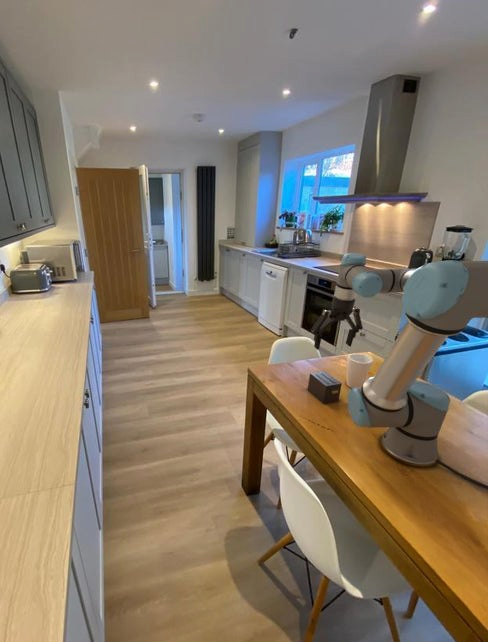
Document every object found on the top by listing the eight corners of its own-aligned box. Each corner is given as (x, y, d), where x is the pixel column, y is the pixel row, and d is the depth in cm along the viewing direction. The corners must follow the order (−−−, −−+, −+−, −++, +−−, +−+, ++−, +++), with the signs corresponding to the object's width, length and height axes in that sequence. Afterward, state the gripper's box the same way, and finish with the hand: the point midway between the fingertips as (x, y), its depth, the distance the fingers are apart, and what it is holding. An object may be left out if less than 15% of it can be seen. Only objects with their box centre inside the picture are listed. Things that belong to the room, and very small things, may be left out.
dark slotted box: (340, 402, 129) (344, 384, 125) (325, 405, 127) (328, 387, 124) (321, 387, 140) (324, 370, 136) (307, 389, 138) (309, 372, 135)
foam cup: (369, 391, 136) (376, 364, 130) (345, 389, 137) (351, 362, 132) (362, 380, 144) (369, 354, 138) (340, 378, 146) (345, 352, 140)
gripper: (370, 290, 123) (356, 338, 134) (307, 295, 120) (298, 344, 132) (382, 298, 117) (366, 348, 128) (317, 304, 114) (307, 354, 125)
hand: (332, 346), depth 130 cm, fingers open, 13 cm apart
